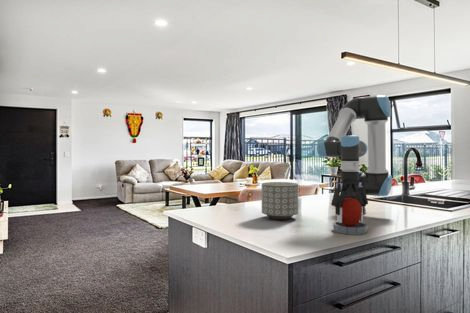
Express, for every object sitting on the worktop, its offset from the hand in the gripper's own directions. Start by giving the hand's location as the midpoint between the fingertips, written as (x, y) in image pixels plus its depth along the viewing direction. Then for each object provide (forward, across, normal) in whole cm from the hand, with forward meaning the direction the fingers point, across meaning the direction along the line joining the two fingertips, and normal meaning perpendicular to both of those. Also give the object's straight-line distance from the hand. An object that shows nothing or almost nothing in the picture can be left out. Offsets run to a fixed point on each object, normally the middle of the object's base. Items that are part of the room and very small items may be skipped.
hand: (349, 221), depth 148 cm
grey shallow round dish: (+4, 0, 0) cm, 4 cm away
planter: (+4, -17, +35) cm, 39 cm away
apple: (+2, 0, 0) cm, 2 cm away
